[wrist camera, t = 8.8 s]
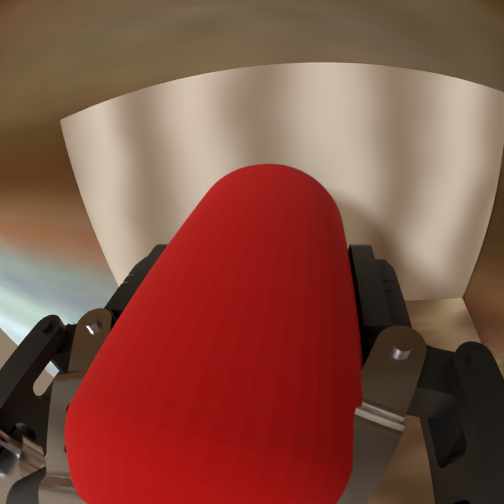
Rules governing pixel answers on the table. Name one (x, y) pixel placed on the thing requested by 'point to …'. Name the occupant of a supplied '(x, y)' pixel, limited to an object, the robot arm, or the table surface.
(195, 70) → the table surface
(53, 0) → the table surface
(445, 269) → the counter stand
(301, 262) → the beverage can
